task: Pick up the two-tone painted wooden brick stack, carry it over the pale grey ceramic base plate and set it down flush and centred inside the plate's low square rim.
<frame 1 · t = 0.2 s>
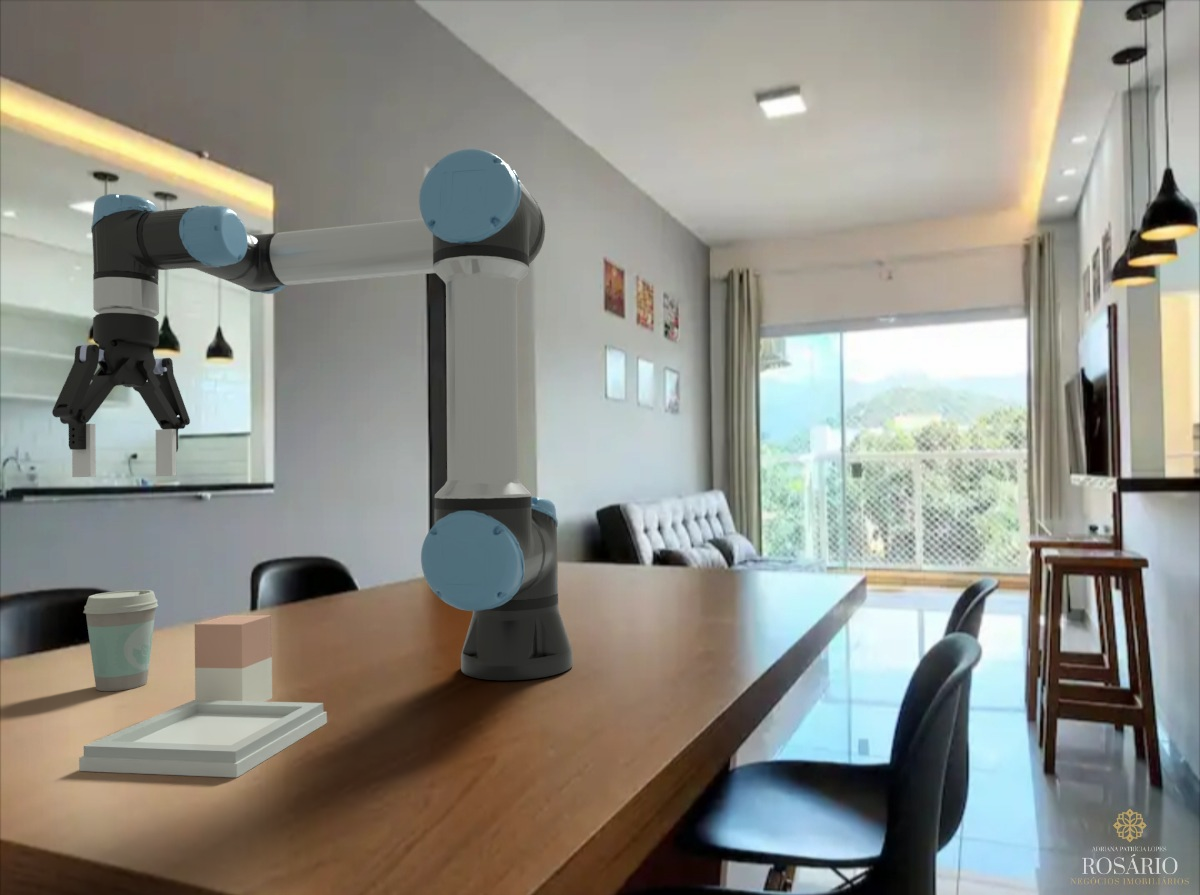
hand: (127, 476, 108), 27 cm above the table, fingers open, 13 cm apart
base plate: (212, 745, 82), on the table
brick stack: (234, 704, 97), on the table
coffee cup: (122, 687, 107), on the table
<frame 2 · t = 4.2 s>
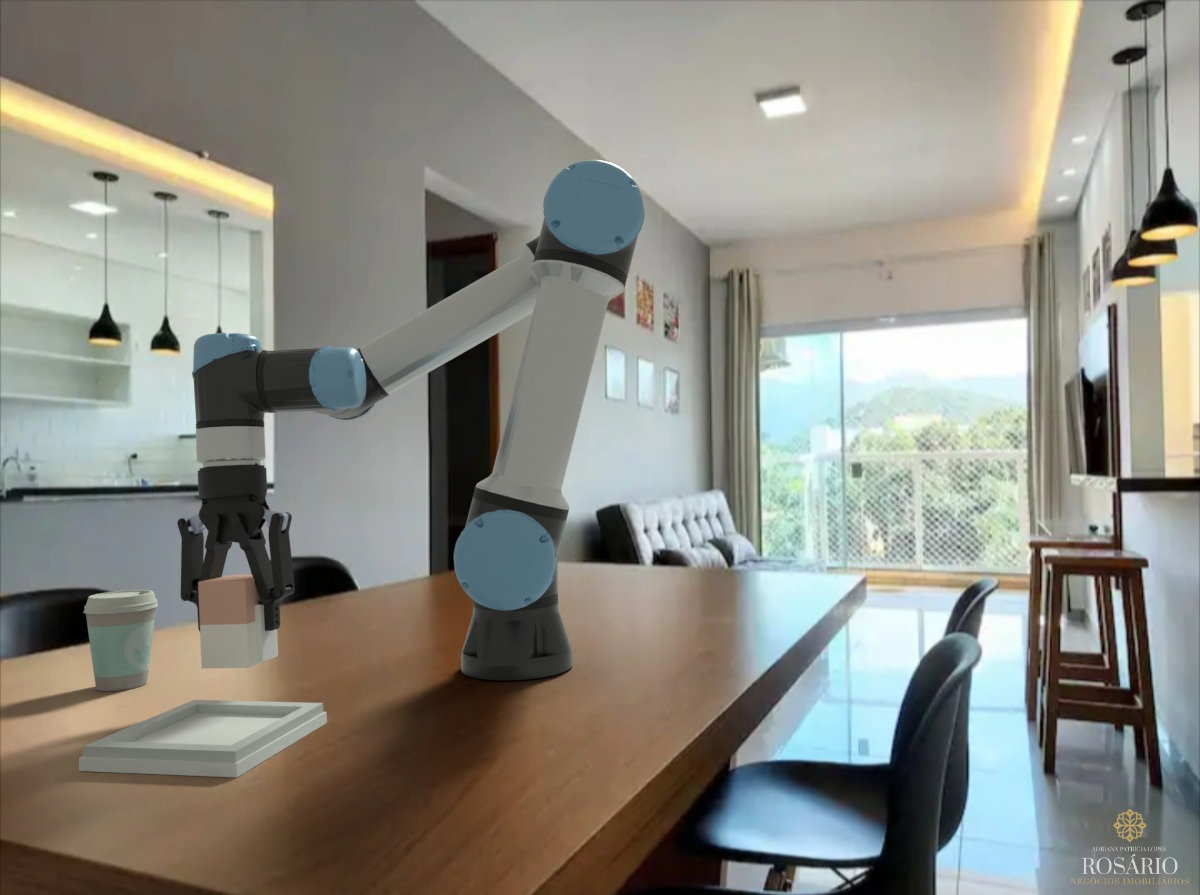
hand: (240, 658, 97), 5 cm above the table, fingers closed on brick stack, 6 cm apart
brick stack: (240, 661, 97), point 5 cm above the table, touching gripper
everything else where it was.
when the fingers open (3 cm above the table, at t = 8.2 s): brick stack drops 1 cm, resting on base plate.
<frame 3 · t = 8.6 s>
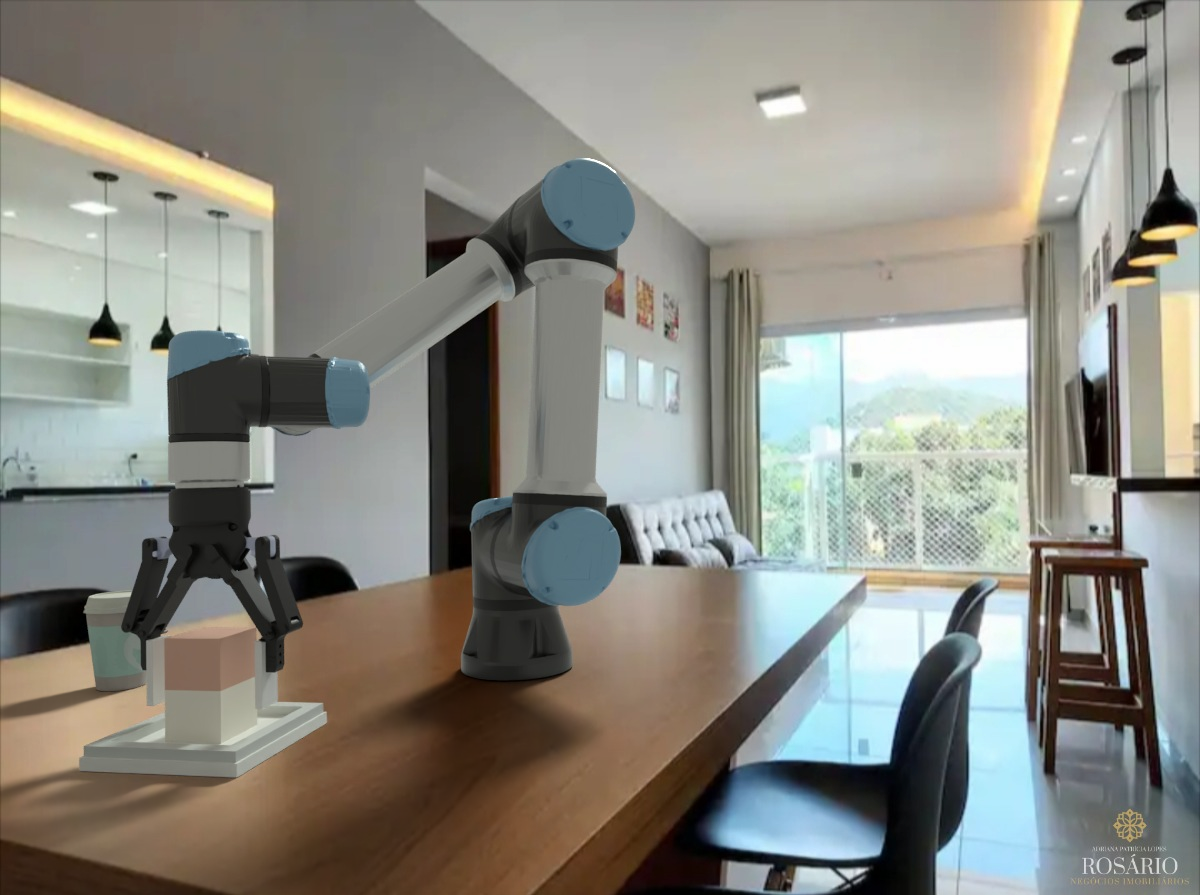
hand: (212, 703, 82), 4 cm above the table, fingers open, 11 cm apart
brick stack: (212, 732, 82), point 1 cm above the table, touching base plate
everything else where it was.
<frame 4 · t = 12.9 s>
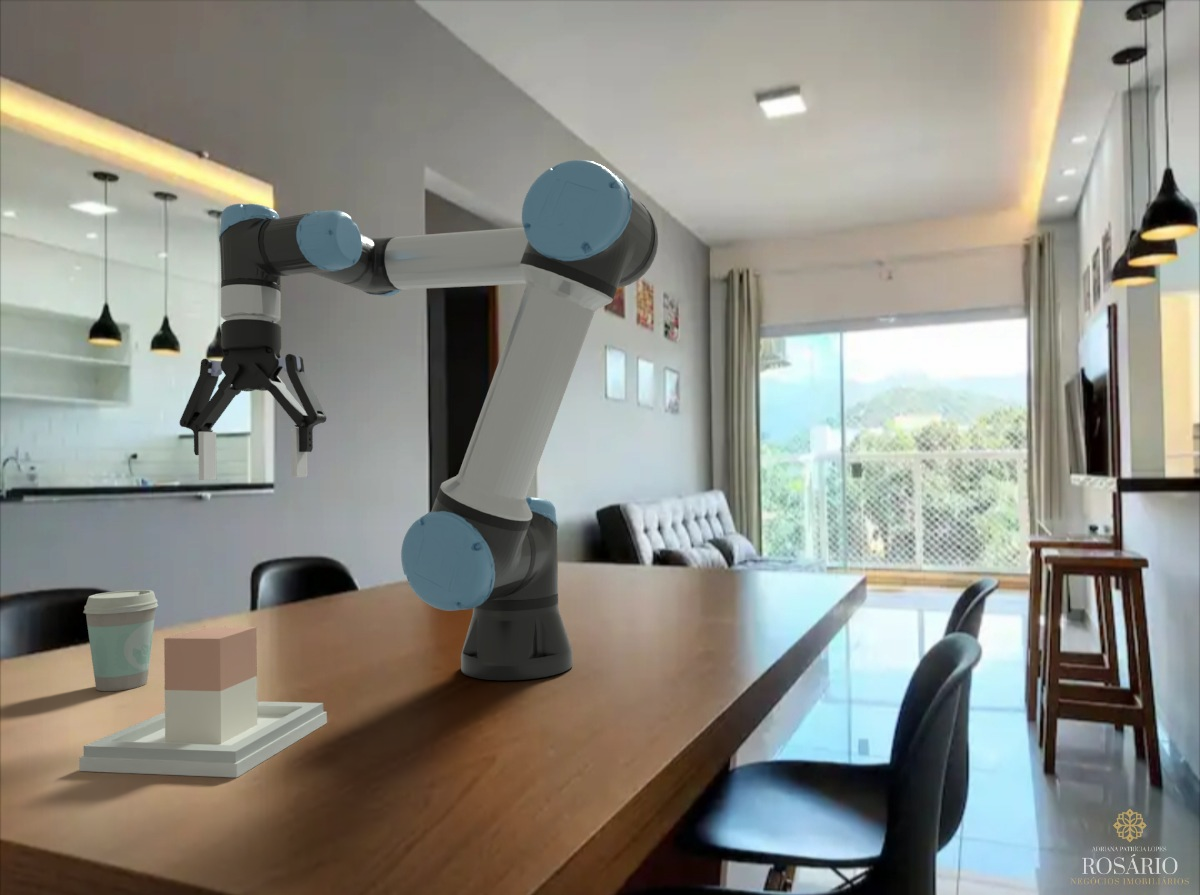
hand: (253, 478, 110), 27 cm above the table, fingers open, 13 cm apart
nothing on the table moved.
at the end: brick stack 0.0 cm off-centre on the base plate, point 1.2 cm above the base plate's base; brick stack tilted 0°; the gripper is holding nothing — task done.
